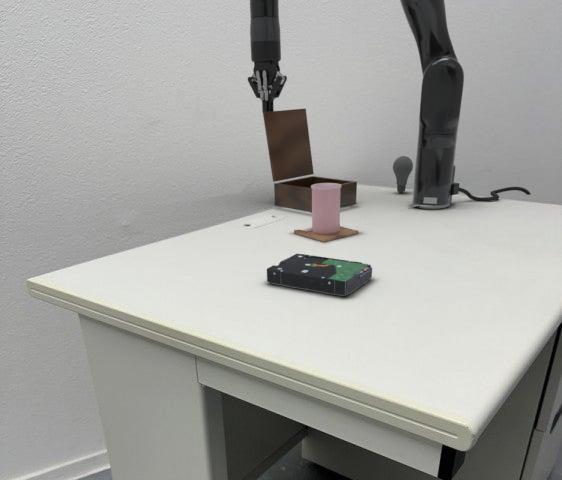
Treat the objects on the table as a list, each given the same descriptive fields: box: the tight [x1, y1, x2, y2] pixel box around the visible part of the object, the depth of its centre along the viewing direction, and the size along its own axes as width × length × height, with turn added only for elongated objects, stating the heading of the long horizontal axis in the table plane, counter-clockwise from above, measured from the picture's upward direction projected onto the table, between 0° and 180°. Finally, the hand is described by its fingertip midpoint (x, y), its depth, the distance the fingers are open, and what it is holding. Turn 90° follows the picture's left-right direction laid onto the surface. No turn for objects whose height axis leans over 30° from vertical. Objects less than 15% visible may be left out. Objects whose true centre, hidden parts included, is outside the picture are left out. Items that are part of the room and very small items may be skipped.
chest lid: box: [262, 108, 315, 183], centre depth 142 cm, size 16×15×1 cm
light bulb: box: [392, 155, 414, 194], centre depth 154 cm, size 6×6×10 cm
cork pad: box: [293, 226, 359, 243], centre depth 119 cm, size 10×10×1 cm
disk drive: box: [266, 253, 373, 297], centre depth 91 cm, size 10×3×15 cm
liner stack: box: [311, 183, 341, 234], centre depth 117 cm, size 6×6×10 cm
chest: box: [273, 175, 358, 213], centre depth 142 cm, size 16×15×6 cm
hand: (268, 116), depth 144 cm, fingers closed
